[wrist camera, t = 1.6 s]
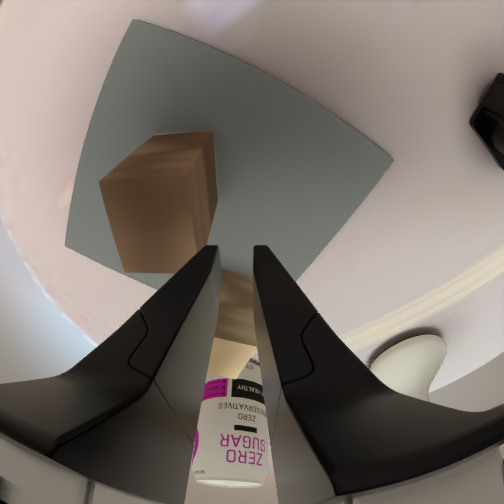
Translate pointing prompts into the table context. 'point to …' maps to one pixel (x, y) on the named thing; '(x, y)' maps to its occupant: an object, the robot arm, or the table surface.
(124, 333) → the robot arm
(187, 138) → the walnut block
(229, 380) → the supplement can
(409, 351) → the flower in vase
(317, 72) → the table surface
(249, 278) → the oak block
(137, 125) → the slate mat
